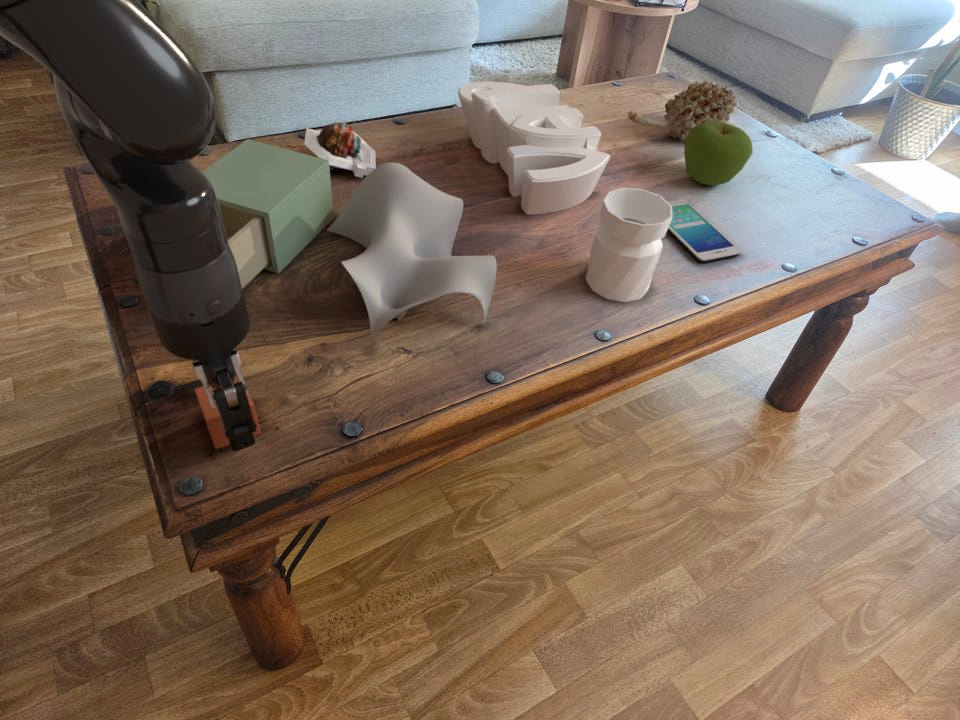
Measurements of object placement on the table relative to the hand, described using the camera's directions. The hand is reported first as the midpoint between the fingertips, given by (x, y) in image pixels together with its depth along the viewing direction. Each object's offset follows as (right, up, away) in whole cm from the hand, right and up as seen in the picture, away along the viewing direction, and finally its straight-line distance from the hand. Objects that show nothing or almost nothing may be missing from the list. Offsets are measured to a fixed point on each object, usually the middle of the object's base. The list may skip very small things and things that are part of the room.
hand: (231, 415), depth 66 cm
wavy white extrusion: (+33, +37, +43) cm, 65 cm away
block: (0, -1, +1) cm, 2 cm away
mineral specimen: (+3, +37, +40) cm, 55 cm away
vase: (+44, +16, +24) cm, 52 cm away
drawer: (-8, +16, +16) cm, 24 cm away
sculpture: (+16, +17, +21) cm, 31 cm away
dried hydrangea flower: (+61, +47, +56) cm, 95 cm away
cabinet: (-4, +23, +25) cm, 34 cm away
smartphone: (+57, +25, +34) cm, 71 cm away
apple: (+63, +36, +46) cm, 86 cm away
